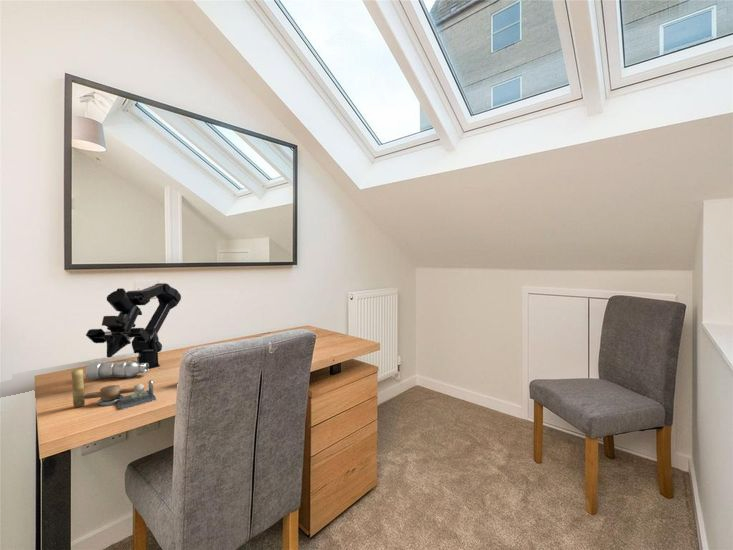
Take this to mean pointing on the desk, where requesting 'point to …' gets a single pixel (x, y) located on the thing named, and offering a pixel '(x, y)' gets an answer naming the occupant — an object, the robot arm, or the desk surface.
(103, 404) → the level stand
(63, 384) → the desk surface
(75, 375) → the tan piece
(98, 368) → the plastic bottle
